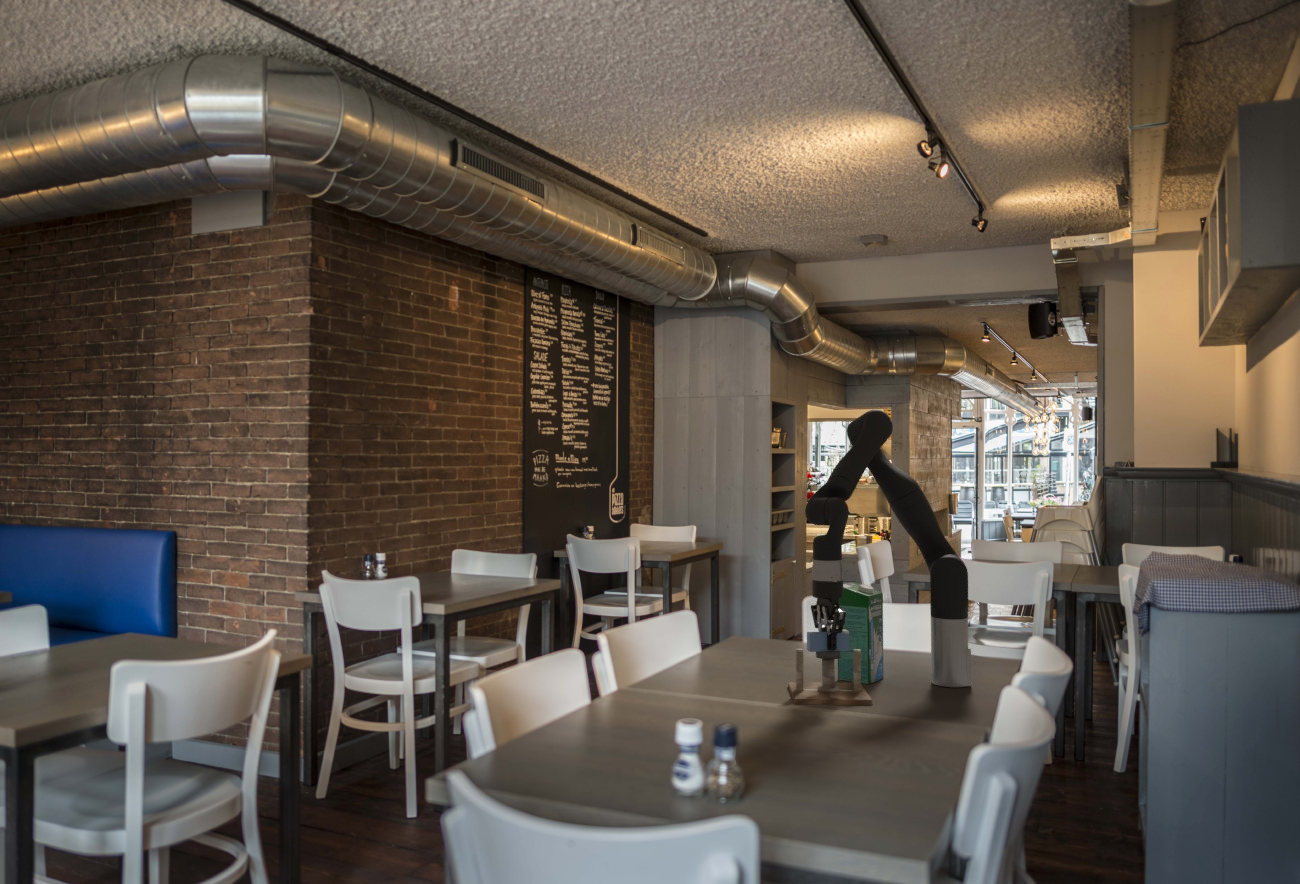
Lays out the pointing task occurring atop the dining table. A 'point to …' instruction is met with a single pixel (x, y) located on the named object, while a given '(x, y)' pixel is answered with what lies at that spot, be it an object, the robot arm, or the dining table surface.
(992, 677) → the dining table surface
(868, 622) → the milk carton
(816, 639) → the blue long block
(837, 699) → the base plate
